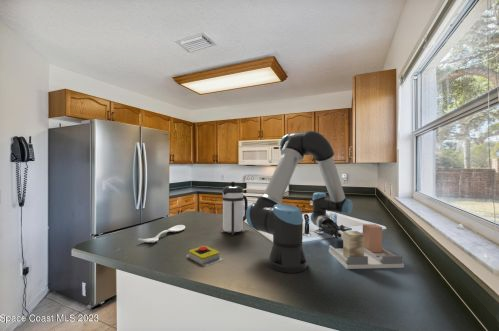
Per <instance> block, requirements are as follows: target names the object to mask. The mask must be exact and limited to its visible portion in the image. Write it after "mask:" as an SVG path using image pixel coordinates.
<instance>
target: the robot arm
mask: <svg viewBox="0 0 499 331" xmlns="http://www.w3.org/2000/svg"><path fill="white" fill-rule="evenodd" d="M279 150H280V155H281V157H280V159H279V161H278V163H277V165H276V167H275V170H274V172H273V174H272V176H271V178H270V179H269V181H268V184H267V185H266V189H265V191H264V192H263V194H262V195H260V196H258V198H257V200H256V202H252V203H250V204H249V205H248V208H247V211H246V223H247V225H248V226H249V227H250V228H252V229H254V230H255V231H259V232H263V233H266V234H269V235H272V246H271V250H270V253H269V255H268V266H269V267H270V268H271V269H273V270H275V271H278V272H282V273H287V274H295V273H296V274H297V273H301V272H303V271H305V270H306V269H307V268H308V267H307V266H308V260H307V257H306V253H305V250H304V246H303V230H304V229H303V228H304V227H303V225H304V224H303V222H304V219H303V212H302V210H301V208H299V207H298V206H296V205H292V204H288V203H287V204H286V203H281V202H282V199H283V198H284V195H285V192H286V191H287V188H288V186H289V184H290V182H291V180H292V177H293V175H294V172H295V170H296V167H297V165H298V163H301V162H302V161H303V159H304V157H305V156H312V157H313V159H314V162H317V165H318V167H319V169H320V173H321V176H322V179H323V181H324V184H325V186H326V190H327V193H328V196H327V194H326V192H314V193H313V194H312V212H311V214H310V221H311V222H312V224H314V225H315V226H316V227H317V228H318V231H319V232H323V233H325V234H326V235H329V236H334V238H336V239H337V238H339V239H341V240H342V241H343V231H347V230H346V229H345V227H344V225H343V224H340V225H338V224H336V223H335V222H334V220H333V219H331V218H330V217H328V216H327V211H330V212H333V213H334V212H335V213H341V214H351V212H352V211H353V209H354V208H353V207H354V204H353V201H352V200H351V199H348V198H346V195H345V191H344V189H343V186H342V183H341V179H340V176H339V172H338V169H337V166H336V163H335V160H334V155H335V152H334V150H333V146H332V145H331V143H330V141H329V140H328V139H327V138H326V137H325V136H324V135H323V134H321V133H320V132H318V131H314V130H308V131H302V132H301V131H300V132H292V133H291V132H290V133H288V134H285V135H284V136H283V137H282V138H281V140H280V143H279Z"/></svg>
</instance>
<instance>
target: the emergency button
mask: <svg viewBox="0 0 499 331" xmlns="http://www.w3.org/2000/svg"><path fill="white" fill-rule="evenodd" d="M186 257H187V258H189V259H190V260H193V261H194V262H196V263H197V264H200V265H202V266H203V267H209V266H211V265H214V264H217V263H219V262H222V261H223V258H222V257H220V251H218V250H216V249H215V248H212V247H209V246H208V245H203V246H200V247H196V248H192V249H189V250H188V254H186Z"/></svg>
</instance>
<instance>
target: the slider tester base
mask: <svg viewBox="0 0 499 331" xmlns="http://www.w3.org/2000/svg"><path fill="white" fill-rule="evenodd" d="M328 253H329V254H330V255H331V256H333V257H334V258H335V259H336V261H338V262H339V263H340V264H341V265H342V266H343V267H344V268H345V269H346V270H351V269H352V270H354V269H357V270H359V269H364V270H365V269H398V268H399V269H401V268H405V264H404V263H403V255H396V254H394V253H392V252H390V251H388V250H387V249H385V248H384V247H382V252H371V251H369V250H368V249H366V248H365V247H364V256H347V258H345V257H344V256H343V248H335V247H333V245H328Z"/></svg>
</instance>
